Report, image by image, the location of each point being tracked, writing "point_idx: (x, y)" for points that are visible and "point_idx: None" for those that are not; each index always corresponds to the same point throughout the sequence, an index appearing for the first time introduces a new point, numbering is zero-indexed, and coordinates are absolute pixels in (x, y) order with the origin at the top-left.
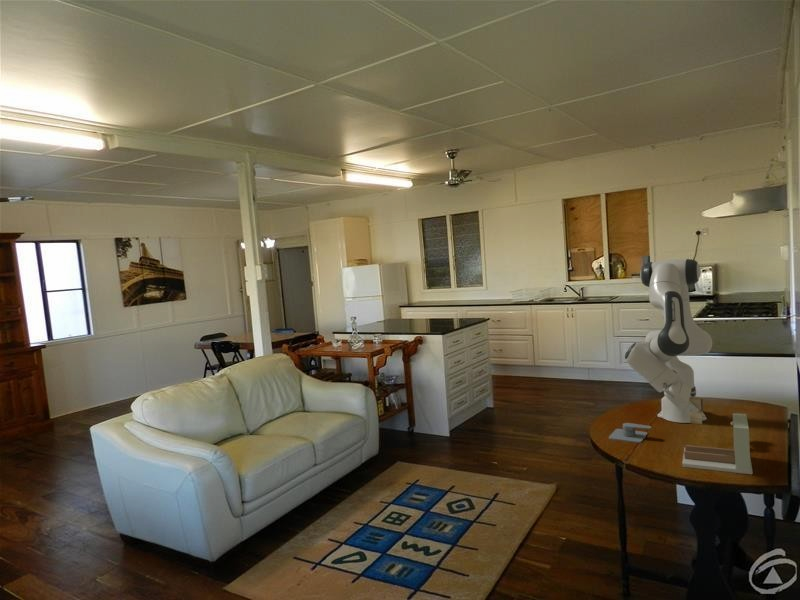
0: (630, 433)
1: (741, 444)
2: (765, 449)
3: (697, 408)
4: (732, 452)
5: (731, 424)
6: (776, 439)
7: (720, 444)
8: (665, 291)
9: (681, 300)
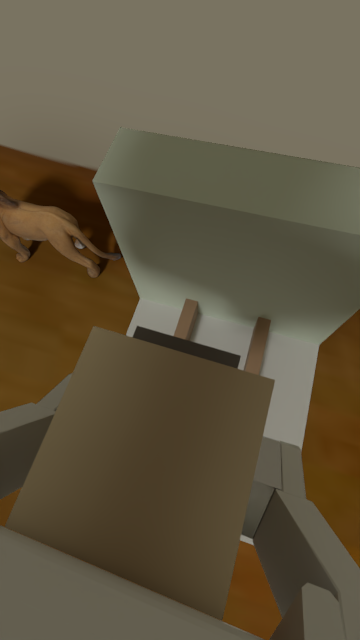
0: None
1: None
2: (95, 207)
3: (296, 461)
4: (196, 311)
5: None
6: (17, 160)
7: (30, 316)
8: None
9: None
